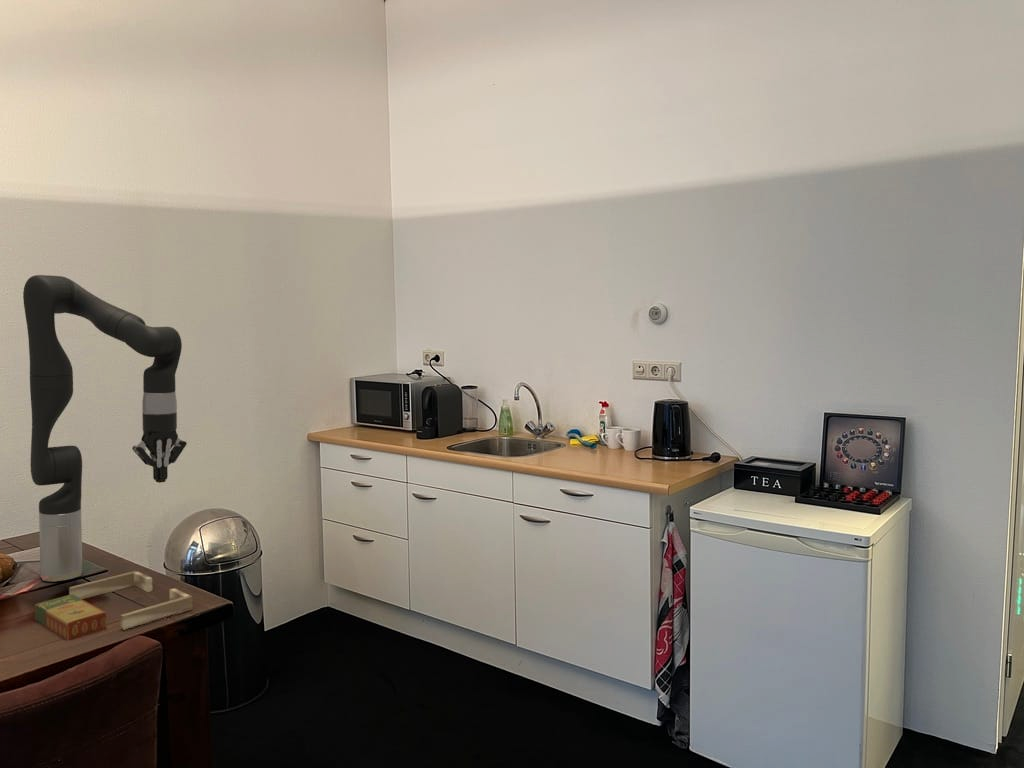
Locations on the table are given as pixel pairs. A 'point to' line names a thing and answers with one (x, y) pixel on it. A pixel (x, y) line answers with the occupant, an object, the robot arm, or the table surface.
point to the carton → (70, 616)
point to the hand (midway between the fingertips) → (160, 481)
